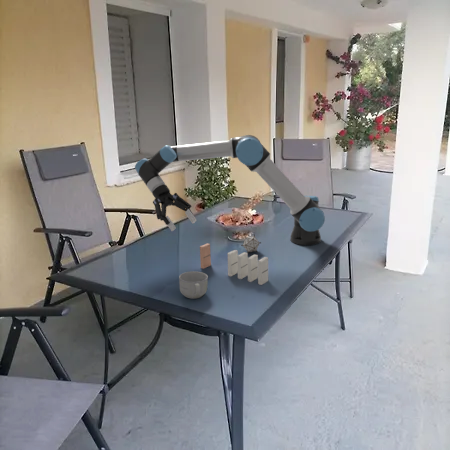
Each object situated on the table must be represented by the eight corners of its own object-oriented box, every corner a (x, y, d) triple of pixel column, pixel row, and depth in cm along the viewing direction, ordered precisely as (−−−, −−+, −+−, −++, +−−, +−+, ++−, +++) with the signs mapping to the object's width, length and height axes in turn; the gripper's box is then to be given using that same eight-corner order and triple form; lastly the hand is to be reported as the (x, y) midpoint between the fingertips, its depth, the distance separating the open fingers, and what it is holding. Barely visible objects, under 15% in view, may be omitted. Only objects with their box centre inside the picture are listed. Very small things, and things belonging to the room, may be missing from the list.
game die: (254, 260, 208) (259, 248, 200) (237, 253, 209) (241, 241, 201) (259, 246, 214) (264, 234, 206) (243, 239, 215) (247, 227, 207)
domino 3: (237, 278, 180) (237, 255, 177) (244, 274, 184) (244, 252, 181) (241, 279, 179) (240, 256, 176) (248, 275, 183) (247, 252, 180)
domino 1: (200, 267, 192) (199, 246, 189) (208, 264, 195) (207, 243, 193) (203, 268, 191) (202, 247, 188) (211, 265, 194) (210, 243, 192)
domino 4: (247, 281, 177) (247, 258, 174) (254, 276, 181) (254, 254, 178) (251, 282, 176) (250, 259, 173) (258, 277, 180) (257, 255, 177)
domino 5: (258, 284, 174) (257, 260, 171) (264, 279, 178) (264, 256, 175) (261, 285, 173) (261, 261, 170) (268, 280, 177) (268, 257, 174)
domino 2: (228, 275, 183) (227, 253, 180) (235, 271, 187) (234, 249, 184) (231, 276, 182) (230, 254, 179) (238, 272, 186) (237, 250, 183)
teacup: (180, 289, 171) (179, 271, 169) (208, 288, 172) (207, 269, 170) (179, 306, 158) (178, 286, 155) (209, 304, 159) (209, 284, 156)
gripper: (173, 188, 211) (198, 223, 206) (134, 199, 192) (160, 237, 187) (181, 179, 206) (206, 214, 201) (141, 188, 187) (168, 228, 183)
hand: (184, 225), depth 194 cm, fingers open, 13 cm apart
